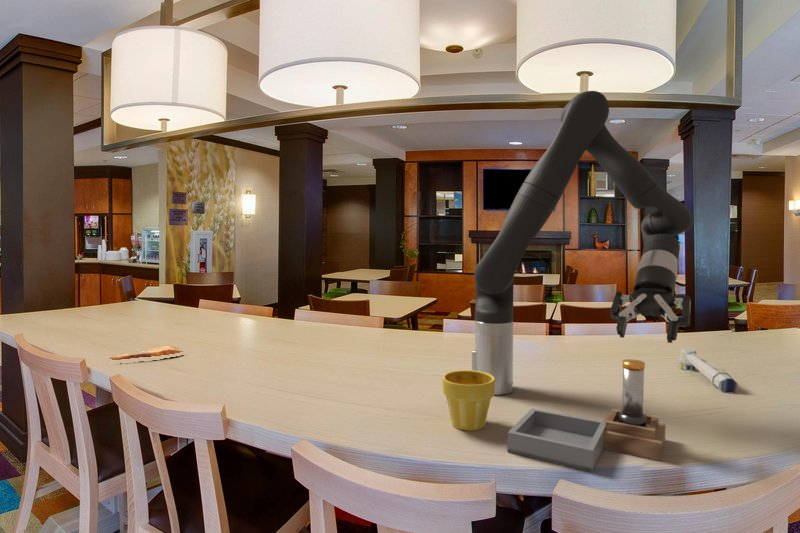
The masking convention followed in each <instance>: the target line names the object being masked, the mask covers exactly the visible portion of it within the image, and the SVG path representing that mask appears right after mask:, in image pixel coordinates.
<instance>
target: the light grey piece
mask: <svg viewBox="0 0 800 533" xmlns="http://www.w3.org/2000/svg"><path fill="white" fill-rule="evenodd" d="M676 361H677V367H679V369H680V368H682V369H681V370H684V369H685V370H684V371H687V370H696V371H699V373H701V374H702V375H703V376H704V377H705V378H706V379H708V381H709V382H711V385H712V386H714V387H715V389H719V390H720V391H721V392H723V393H726V392H733V393H736V391H738V382H736V381H735V379H733V377H732V375H730V374H729V373H728V372H727V371H723V370H721V369H720V368H718V367H717V366H715V365H713V364H712V363H711V362H709V361H707V360H706V359H704V358H703V357H702V356H700V355H698V354H697V350H696V349H695V348H693V347H691V346H690V347H688V346H684V347H682V348H681V351H680V355H677V357H676Z"/></svg>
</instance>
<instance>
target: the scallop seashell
mask: <svg viewBox="0 0 800 533" xmlns="http://www.w3.org/2000/svg"><path fill="white" fill-rule="evenodd" d="M172 349H174V350H172ZM175 349H179V348H178V347H176V346H173V345H166V346H155V347H152V348H146V349H143V350H150V351H147V352H151V353H141V354H133V355H128V354H127V353H128V352H126V354H125V353H122V354H123V355H121V354H118V355H114V356H111V357H110V358H109V359H112V360H121V359H130V358H139V357H151V356H161V355H169V354H175V353H180V352H182V351H183V350H181V351H179V350H175ZM140 350H141V349H140ZM140 350H138V351H140ZM151 350H152V351H151ZM155 351H156V352H155ZM142 352H145V351H142ZM116 356H118V357H116Z"/></svg>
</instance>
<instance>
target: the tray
mask: <svg viewBox="0 0 800 533" xmlns="http://www.w3.org/2000/svg"><path fill="white" fill-rule="evenodd" d="M605 426H606V422H604V421H603V420H598V419H592V418H588V417H583V416H577V415H570V414H566V413H560V412H554V411H550V410H542V409H538V408H537V409H536V408H533V407H532V408H530V409H529V410H528V412H527V413H526V414H525V415H524V416H522V417H521V419H520V420H519V421H517V422H516V423H515V425H513V427H512V428H510V430H509V431H508V432H507V452H508V453H510V454H515V455H518V456H522V457H527V458H532V459H536V460H540V461H544V462H548V463H553V464H556V465H557V464H558V465H561V466H565V467H570V468H574V469H576V470H577V469H578V470H581V471H586V472H590V473H591V472H592V473H593V472H594V471H595V468H596V466H597V463H598V462H599V459H600V457H601V455H602V453H603V451H604V450H605V449H604V431H605Z"/></svg>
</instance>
